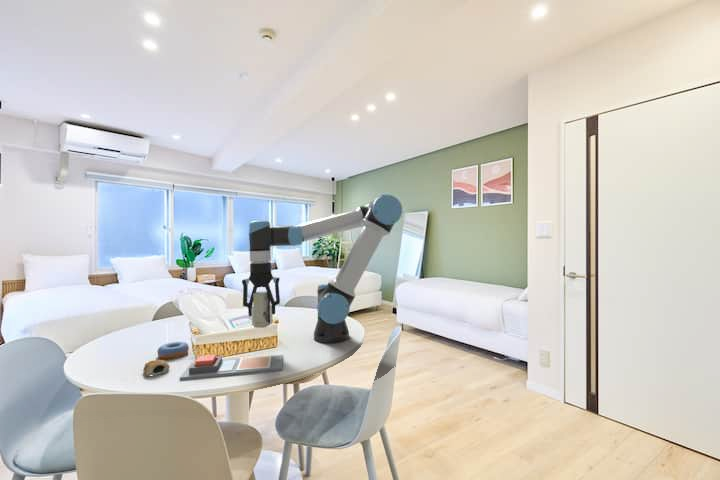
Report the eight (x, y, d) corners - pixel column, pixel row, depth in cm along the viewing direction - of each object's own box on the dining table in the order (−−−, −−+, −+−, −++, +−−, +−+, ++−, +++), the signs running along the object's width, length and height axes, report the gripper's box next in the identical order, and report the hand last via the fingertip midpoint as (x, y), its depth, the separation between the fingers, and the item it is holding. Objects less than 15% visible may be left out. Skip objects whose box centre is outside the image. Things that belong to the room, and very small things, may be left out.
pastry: (139, 370, 103) (139, 358, 103) (163, 364, 108) (163, 353, 108) (146, 379, 97) (146, 366, 97) (171, 372, 101) (171, 360, 101)
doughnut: (166, 349, 121) (166, 338, 121) (193, 350, 122) (193, 338, 121) (151, 362, 111) (151, 349, 111) (181, 362, 112) (181, 350, 112)
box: (264, 328, 115) (263, 293, 115) (253, 328, 116) (252, 293, 116) (271, 324, 121) (270, 290, 120) (260, 324, 121) (259, 290, 121)
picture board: (282, 356, 113) (282, 349, 113) (282, 370, 102) (282, 362, 102) (191, 364, 107) (191, 357, 107) (179, 380, 95) (179, 371, 95)
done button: (216, 360, 105) (216, 354, 105) (212, 366, 100) (212, 360, 100) (199, 361, 104) (199, 355, 104) (195, 367, 99) (195, 361, 99)
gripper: (286, 260, 124) (288, 319, 124) (235, 262, 120) (237, 323, 120) (286, 261, 117) (288, 324, 117) (232, 264, 113) (234, 328, 113)
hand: (262, 323), depth 118 cm, fingers closed on box, 6 cm apart
